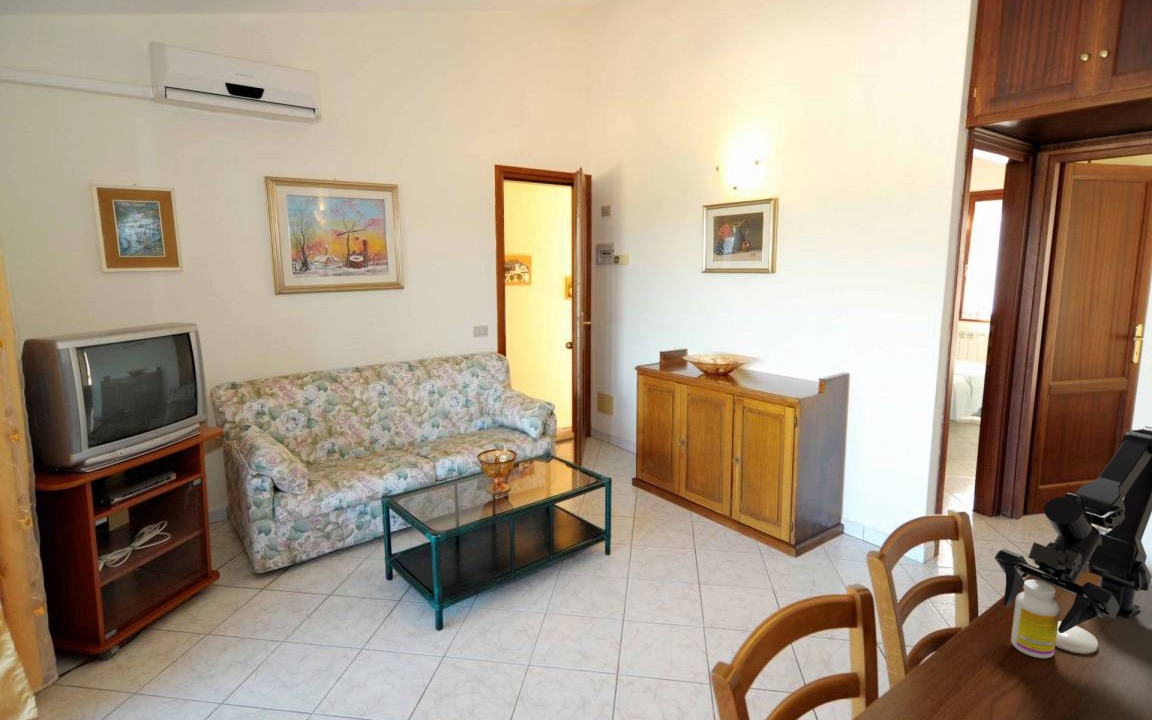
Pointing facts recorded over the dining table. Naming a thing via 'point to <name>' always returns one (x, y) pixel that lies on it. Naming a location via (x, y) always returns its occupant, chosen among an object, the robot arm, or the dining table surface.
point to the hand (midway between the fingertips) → (1031, 618)
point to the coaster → (1076, 640)
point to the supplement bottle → (1035, 620)
